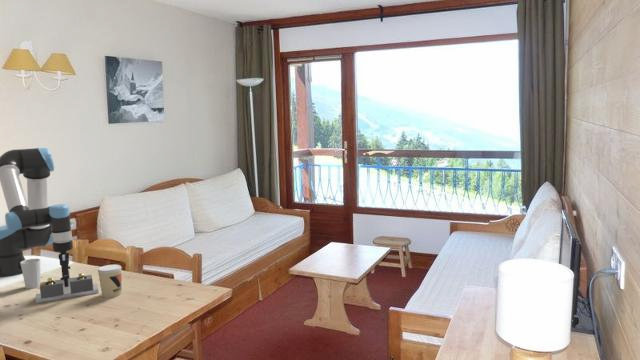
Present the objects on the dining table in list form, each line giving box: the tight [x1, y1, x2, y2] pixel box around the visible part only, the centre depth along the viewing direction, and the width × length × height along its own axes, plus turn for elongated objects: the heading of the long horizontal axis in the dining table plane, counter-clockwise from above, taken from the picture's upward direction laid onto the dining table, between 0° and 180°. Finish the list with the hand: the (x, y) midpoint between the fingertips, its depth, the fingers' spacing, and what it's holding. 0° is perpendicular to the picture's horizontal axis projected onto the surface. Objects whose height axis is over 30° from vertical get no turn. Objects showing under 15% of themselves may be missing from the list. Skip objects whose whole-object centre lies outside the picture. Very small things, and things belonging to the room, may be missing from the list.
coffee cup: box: [97, 264, 123, 298], centre depth 218 cm, size 9×9×12 cm
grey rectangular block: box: [39, 274, 94, 298], centre depth 219 cm, size 20×6×6 cm, turn 117°
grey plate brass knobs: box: [35, 272, 99, 304], centre depth 219 cm, size 24×8×8 cm, turn 117°
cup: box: [20, 258, 42, 290], centre depth 232 cm, size 8×8×12 cm
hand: (67, 289), depth 219 cm, fingers open, 13 cm apart
